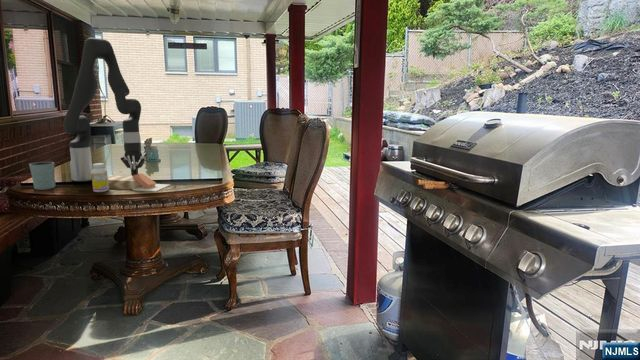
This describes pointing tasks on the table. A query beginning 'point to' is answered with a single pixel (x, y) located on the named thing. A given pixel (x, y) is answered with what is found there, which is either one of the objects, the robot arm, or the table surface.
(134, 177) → the orange brown flat block
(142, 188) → the mat
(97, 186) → the supplement bottle
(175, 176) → the table surface
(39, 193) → the table surface
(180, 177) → the table surface
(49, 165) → the pale teal cup
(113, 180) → the deck
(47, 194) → the table surface
